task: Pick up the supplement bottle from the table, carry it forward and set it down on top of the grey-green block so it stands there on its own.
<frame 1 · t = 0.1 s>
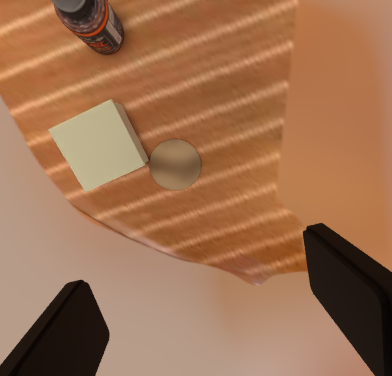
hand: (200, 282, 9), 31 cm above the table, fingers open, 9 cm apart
tan round plate: (175, 165, 39), on the table
grey-green block: (109, 145, 38), on the table
supplement bottle: (106, 34, 34), on the table
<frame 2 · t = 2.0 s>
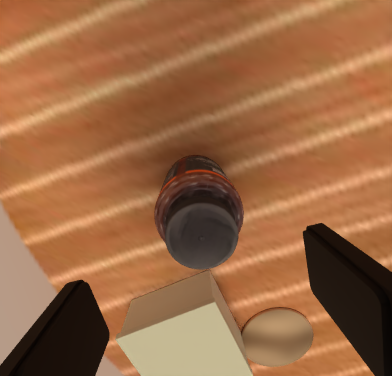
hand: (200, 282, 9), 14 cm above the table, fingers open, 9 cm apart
tan round plate: (275, 336, 28), on the table
grey-green block: (187, 316, 27), on the table
supplement bottle: (195, 183, 23), on the table
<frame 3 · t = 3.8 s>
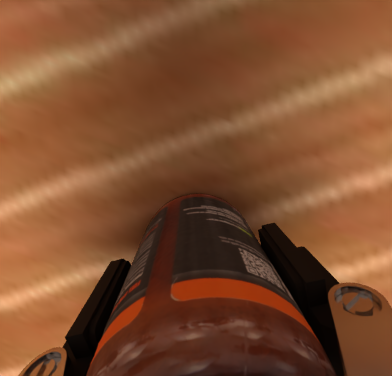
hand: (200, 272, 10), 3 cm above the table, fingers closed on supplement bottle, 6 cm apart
supplement bottle: (197, 237, 13), on the table, touching gripper
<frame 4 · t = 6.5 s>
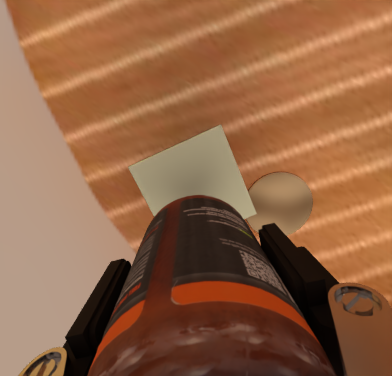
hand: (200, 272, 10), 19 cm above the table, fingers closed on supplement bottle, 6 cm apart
tan round plate: (277, 205, 30), on the table
grey-green block: (193, 180, 29), on the table
supplement bottle: (198, 238, 13), point 16 cm above the table, touching gripper
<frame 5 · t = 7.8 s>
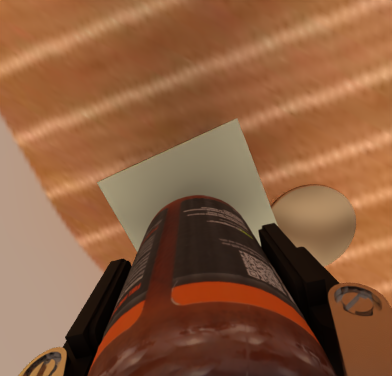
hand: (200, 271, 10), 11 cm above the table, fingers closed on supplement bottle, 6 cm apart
tan round plate: (307, 228, 22), on the table
grey-green block: (195, 196, 21), on the table
supplement bottle: (198, 239, 13), point 8 cm above the table, touching gripper
when the fingers open (9 cm above the table, at t = 9.1 s): supplement bottle drops 1 cm, resting on grey-green block.
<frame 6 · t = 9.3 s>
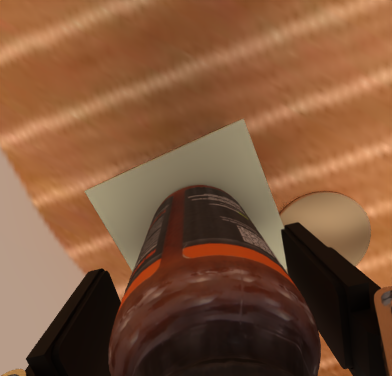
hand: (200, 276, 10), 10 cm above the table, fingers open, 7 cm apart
tan round plate: (317, 238, 20), on the table
grey-green block: (195, 204, 19), on the table
supplement bottle: (199, 225, 15), point 5 cm above the table, touching grey-green block
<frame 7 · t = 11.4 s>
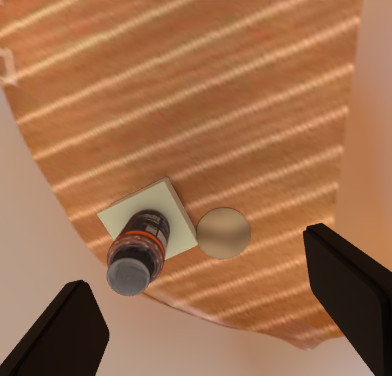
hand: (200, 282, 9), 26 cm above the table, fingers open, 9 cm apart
tan round plate: (223, 233, 37), on the table
grey-green block: (154, 216, 36), on the table
supplement bottle: (149, 227, 32), point 5 cm above the table, touching grey-green block
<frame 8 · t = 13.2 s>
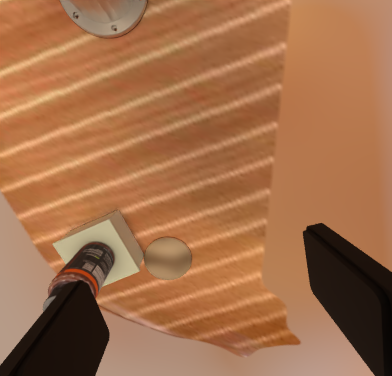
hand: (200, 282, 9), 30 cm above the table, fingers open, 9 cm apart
tan round plate: (168, 258, 43), on the table
grey-green block: (107, 242, 42), on the table
supplement bottle: (98, 256, 37), point 5 cm above the table, touching grey-green block
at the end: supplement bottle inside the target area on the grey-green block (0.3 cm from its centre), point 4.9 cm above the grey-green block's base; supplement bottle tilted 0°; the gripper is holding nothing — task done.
